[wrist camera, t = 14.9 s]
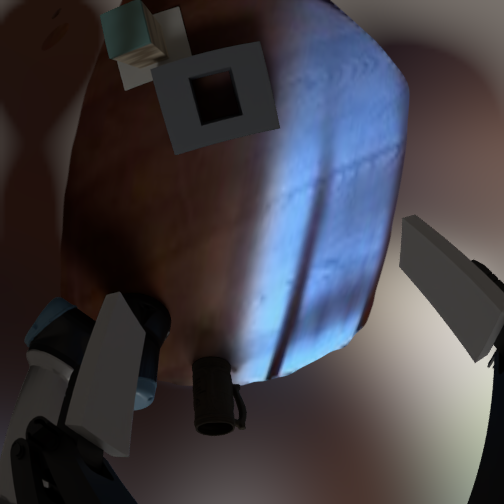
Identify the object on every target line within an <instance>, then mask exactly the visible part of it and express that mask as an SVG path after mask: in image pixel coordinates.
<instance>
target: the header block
mask: <svg viewBox="0 0 504 504" xmlns="http://www.w3.org/2000/svg"><path fill="white" fill-rule="evenodd" d="M150 70H151V74H152V78H153V82H154V85H155V89H156V92H157V96H158V99H159V103H160V106H161V110H162V113H163V117H164V120H165V124H166V127H167V130H168V134H169V137H170V140H171V143H172V147H173V150H174V153H175V155H178V154H181V153H184V152H188V151H191V150H194V149H198V148H201V147H205V146H208V145H212V144H215V143H219V142H223V141H227V140H231V139H235V138H239V137H243V136H247V135H251V134H256V133H260V132H265V131H269V130H274V129H279V128H280V125H279V121H278V116H277V111H276V107H275V102H274V98H273V93H272V89H271V85H270V80H269V76H268V72H267V68H266V64H265V60H264V56H263V52H262V48H261V44H260V41H258V42H252V43H247V44H241V45H236V46H231V47H226V48H222V49H217V50H213V51H209V52H205V53H201V54H198V55H194V56H190V57H187V58H183V59H180V60H177V61H174V62H170V63H167V64H164V65H161V66H158V67H156V68H153V69H150ZM225 71H229V73H230V77H231V81H232V85H233V89H234V93H235V97H236V101H237V105H238V109H239V114H234V115H230V116H226V117H222V118H218V119H215V120H211V121H207V122H204V123H203V121H202V118H201V114H200V110H199V107H198V103H197V99H196V96H195V92H194V88H193V85H192V81H191V80H194V79H198V78H201V77H205V76H209V75H213V74H217V73H221V72H225Z"/></svg>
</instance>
